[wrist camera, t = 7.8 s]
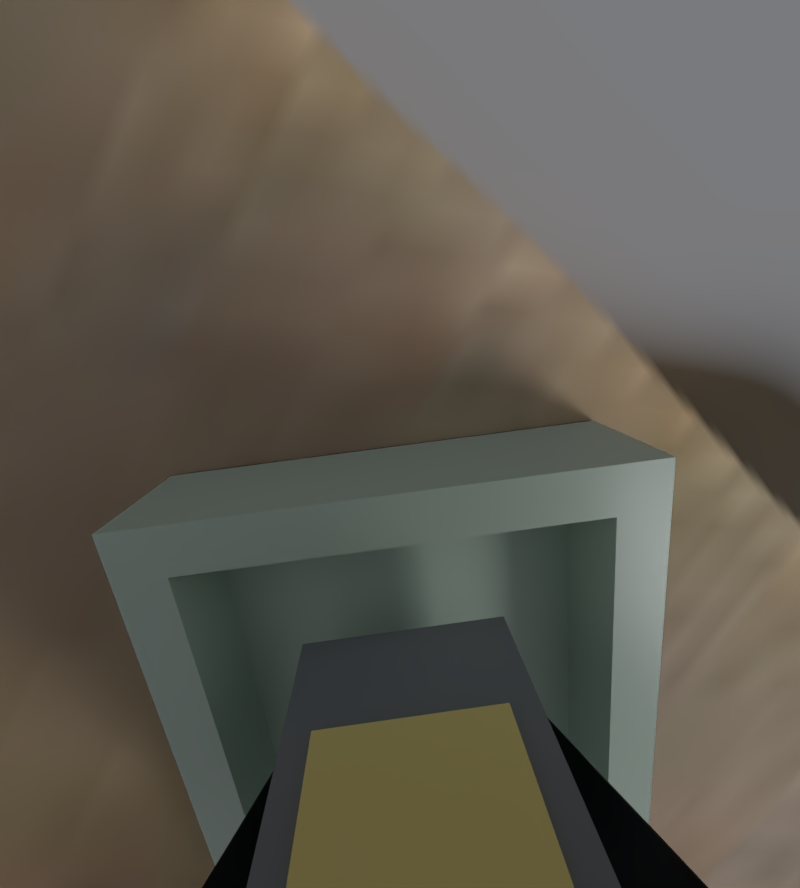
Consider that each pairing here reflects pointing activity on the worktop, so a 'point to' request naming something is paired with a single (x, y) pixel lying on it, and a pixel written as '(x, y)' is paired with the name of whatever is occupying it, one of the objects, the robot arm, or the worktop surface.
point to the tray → (398, 588)
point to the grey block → (423, 771)
